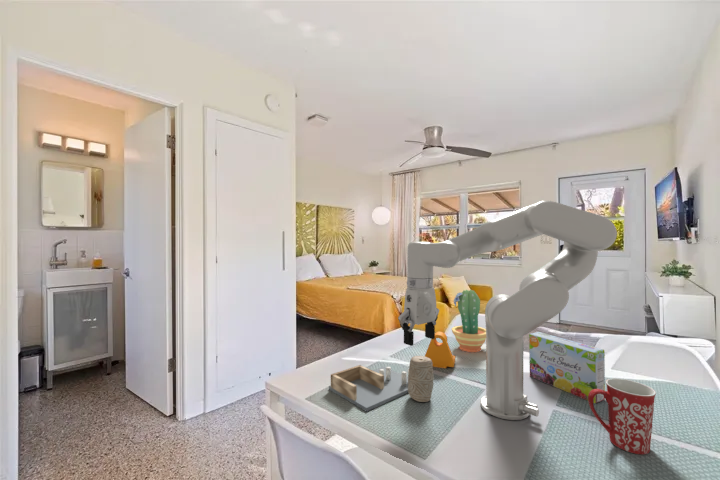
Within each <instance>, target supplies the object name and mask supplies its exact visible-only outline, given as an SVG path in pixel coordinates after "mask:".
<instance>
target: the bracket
mask: <svg viewBox="0 0 720 480" xmlns="http://www.w3.org/2000/svg"><path fill="white" fill-rule="evenodd" d="M437 339H440V340H441V342H439V341H438V340H437ZM424 356H425V357H428V358H430V359H431V360H432V365H433V368H439V369H447V368H448V367H449V368H454V367H455V363H456V355H453V353H452V351H451V347H450V346H449V343H448V336H447V334H446V333H445V332H443V331H436V332H435V338H434V339H430V342H429V344H428V346H427V349H426V351H425V355H424Z"/></svg>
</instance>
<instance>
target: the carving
mask: <svg viewBox="0 0 720 480" xmlns="http://www.w3.org/2000/svg"><path fill="white" fill-rule="evenodd" d="M408 369H409V375H408V374H407V377H408V392H409V393H408V395H409V397H410V398H411V399H412V400H414V401H416V402H418V403H429V401H431V399H432V393H433V389H434V380H435V379H434V377H435V376H434V370H433V369H434V367H433V365H432V360H431V359H430V358H428V357H425V355H414V356H412V357H411V358H410V361H409V366H408Z"/></svg>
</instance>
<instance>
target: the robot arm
mask: <svg viewBox="0 0 720 480" xmlns="http://www.w3.org/2000/svg"><path fill="white" fill-rule="evenodd" d="M617 232H618V231H617V228H616V226H615V224H614V223H613V222H612V221H611V220H610V219H609V218H607V217H605V216H603V215H600V214H598V213H597V214H596V213H593V212H590V211H586V210H583V209H579V208H576V207H573V206H571V205H570V206H569V205H567V204H563V203H560V202H556V201H552V200H541V201H538V202H536V203H533V204H530V205H528V206H525V207H522V208H520V209H518V210H515V211H513V212H510V213H507V214H506V215H502V216H500V217H497V218H495V219H492V220H490V221H487V222H484V223H483V224H482V225H479V226H478V227H476V228H474V229H472V230H469V231H467V232H465V233H462V234H460V235H457V236H455V237H452V238H450V239H447V240H444V241H440V242H430V241H411V242H409V243H408V244H407V250H406V251H407V252H406V253H407V258H406V259H407V263H406V264H407V267H406V270H407V272H406V276H407V277H406V279H407V280H406V290H405V295H404V304H403V305H404V306H403V312H401V314H400V315H399V316H398V323H399V325H400V327H401V329H402V330H403V344H404V345H408V346H411V347H412V346H413V345H414V330H413V329H414V327H415V325H418V326H419V325H423V324H424V336H425V338H427V339H430V340H431V339H434V338H435V333H436V332H435V331H436V330H435V329H436V325H437V320H438V318H439V317H438V315H439V312H440V309H439V308H438V307H437V296H436V291H435V287H434V267H436V268H437V267H438V268H442V269H443V268H444V269H450V268H454V267H455V266H457V264H458V263H459V262H462V261H463V260H467V259H469V258H472V257H475V256H477V255H481V254H485V253H492V252H493V253H494V252H498V251H502V250H505V249H508V248H510V247H512V246H516V245H518V244H521V243H523V242H525V241H528V240H531V239H534V238H537V237H539V236H542V235H545V236H548V237H550V238H553V239H555V240H559V241H562V242H563V245H562V249H561V251H560V252H559V253H558V255H556V256H554V258H552V259H551V260H550V261H548V262H547V263H545V264H544V265H543V266H541V267H539V268H538V269H536V270H535V271H533V272H532V273H530V274H528V275H527V276H525V277H524V278H523V279H522V280H521V282H520V284H519V290H517V291H516V292H515V293H513V294H512V295H509V294H506V293H505V294H504V293H502V294H501V293H500V294H496V295H493V296H492V297H491V298H489V300H488V301H487V303H486V305H485V310H484V319H485V320H484V321H485V329H486V340H485V342H486V343H485V359H486V360H485V370H486V371H485V373H486V374H485V375H486V376H485V378H486V379H485V382H486V383H485V386H486V387H485V388H486V389H485V394H486V395H484V396H482V397H481V399H480V402H479V403H480V407H481V409H482V410H483V411H484V412H486V413H487V414H489V415H491V416H493V417H495V418H498V419H502V420H506V421H507V420H508V421H520V420H525V419H526V418H528V417H529V416H530V415H531V416H534V417H536V418H537V417H538V416H539V414H540V410H539V407H538V405H537V404H534V403H533V402H532V403H531V402H529V400H528V395H526V394H524V336H526V335H529V334H530V332H531V333H532V332H533V331H534V330H536V329H537V328H539V327H540V326H542V325H544V324H545V323H546V322H548V321H550V320H552V319H553V318H555V317H557V315H558V314H560V313H561V312H562V311H563V310H564V309H565V308H566V306H568V305H567V304H568V302H569V298H570V294H569V293H570V292H569V291H570V290H572V289H573V288H574V287H576V286H577V285H578V284H580V283H581V282H582V281H584V280H585V279H586V278H588V277H589V276H590V274H591V273H592V271H594V268H595V266H596V262H597V259H598V254H599V252H600V251H603V250H606V249H608V248H610V247H611V246H612V245H613V244H614V243H615V241H616V240H617V235H618V233H617Z"/></svg>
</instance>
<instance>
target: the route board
mask: <svg viewBox="0 0 720 480" xmlns="http://www.w3.org/2000/svg"><path fill="white" fill-rule="evenodd" d="M372 371H375V372H377V373H379V374H382V375H384V388H383V389H380V388H378V387H376V386H374V385H372V384H370V383H368V382H366V381H364V380H362V379H357V380H354V381H351V382H350V383H352V384H354V385H356V386H357V400H352V399H350V398H349V397H347V396H345V395H343V394H342V393H340V392H338V391H336V390H335V389H333V388H331V385H329V386H328V390H330V391H331V392H332V393H334V394H336V395H338V396H340V397H341V398H343V399H344V400H346V401H348V402H350V403H352V404H353V405H355V406H356V407H358V408H360V409H362V410H363V411H365V412H368V411H371V410H373V409H376V408H378V407H380V406H382V405H384V404H386V403H388V402H391V401H393V400H395V399H397V398H400V397H402V396H404V395H406V394H409V392H408V375H409V368H407V371H405V370H404V371H403V370H402V371H401V373H400V372H397V371H394V370H393V369H392V367H391V366H386V367H385V366H382V367H379V368H376V369H374V370H372Z"/></svg>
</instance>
